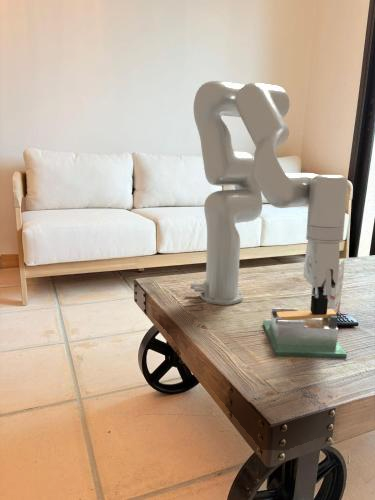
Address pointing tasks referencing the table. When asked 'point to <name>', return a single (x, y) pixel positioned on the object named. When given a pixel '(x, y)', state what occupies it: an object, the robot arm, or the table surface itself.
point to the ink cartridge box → (336, 291)
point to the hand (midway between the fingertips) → (318, 313)
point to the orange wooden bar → (303, 314)
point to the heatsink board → (304, 348)
